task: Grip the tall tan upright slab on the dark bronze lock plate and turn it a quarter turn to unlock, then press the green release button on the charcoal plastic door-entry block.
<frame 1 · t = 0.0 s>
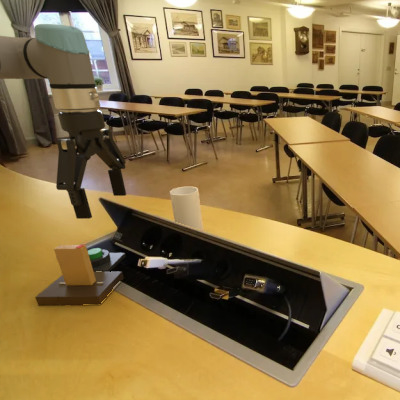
hand: (103, 205, 73), 21 cm above the table, tool pointing down, fingers open, 13 cm apart
lock plate: (83, 291, 78), on the table
block: (97, 264, 89), on the table
release button: (94, 254, 88), point 3 cm above the table, slide at 0.1 cm
cup: (191, 236, 106), on the table
tan upright slab: (75, 265, 75), point 8 cm above the table, hinge at 0.0°
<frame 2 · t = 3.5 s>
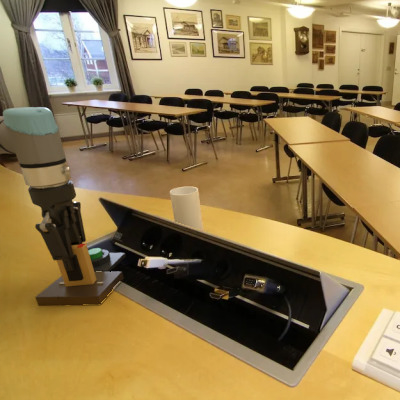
hand: (79, 276, 76), 4 cm above the table, tool pointing down, fingers closed on tan upright slab, 2 cm apart
tan upright slab: (75, 265, 75), point 8 cm above the table, hinge at 8.9°, touching gripper
everything else where it was.
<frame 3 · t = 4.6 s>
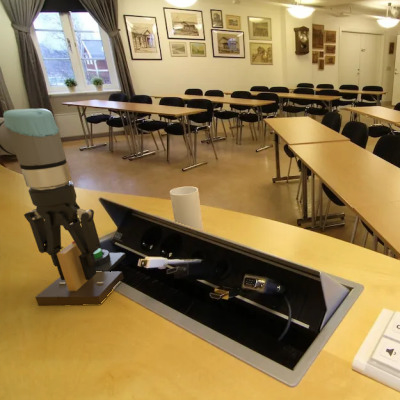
hand: (79, 276, 76), 4 cm above the table, tool pointing down, fingers open, 5 cm apart
tan upright slab: (75, 265, 75), point 8 cm above the table, hinge at 89.4°
everything else where it was.
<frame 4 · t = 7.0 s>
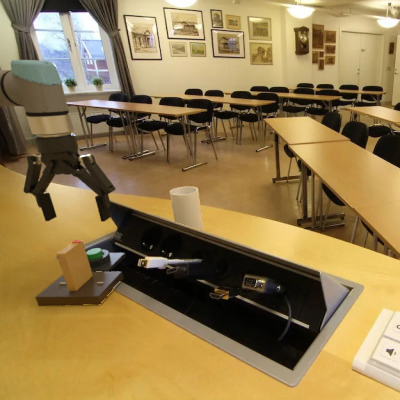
hand: (78, 219, 80), 16 cm above the table, tool pointing down, fingers open, 13 cm apart
nothing on the table moved.
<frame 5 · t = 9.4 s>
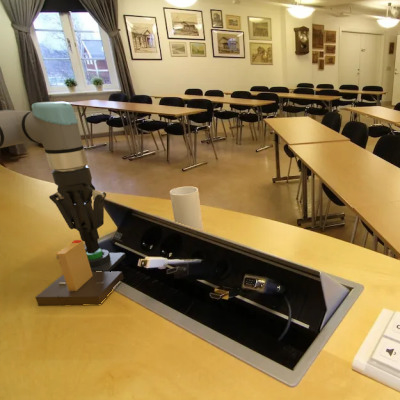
hand: (93, 250, 87), 5 cm above the table, tool pointing down, fingers closed
release button: (94, 254, 88), point 3 cm above the table, slide at 0.0 cm, touching gripper
everything else where it was.
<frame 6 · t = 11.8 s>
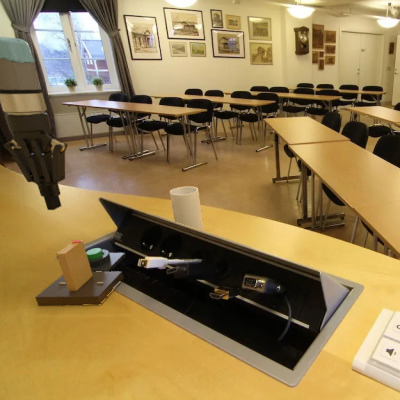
hand: (54, 207, 82), 18 cm above the table, tool pointing down, fingers closed
release button: (94, 254, 88), point 3 cm above the table, slide at 0.1 cm
everything else where it was.
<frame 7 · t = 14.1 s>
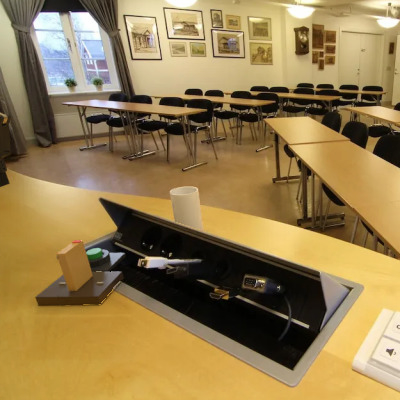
hand: (1, 185, 77), 24 cm above the table, tool pointing down, fingers closed
nothing on the table moved.
at the end: tan upright slab at +89° (first picture: +0°); release button pushed in 1.0 cm at the most during the clip, back to where it started at the end; release button slide at 0.1 cm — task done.
